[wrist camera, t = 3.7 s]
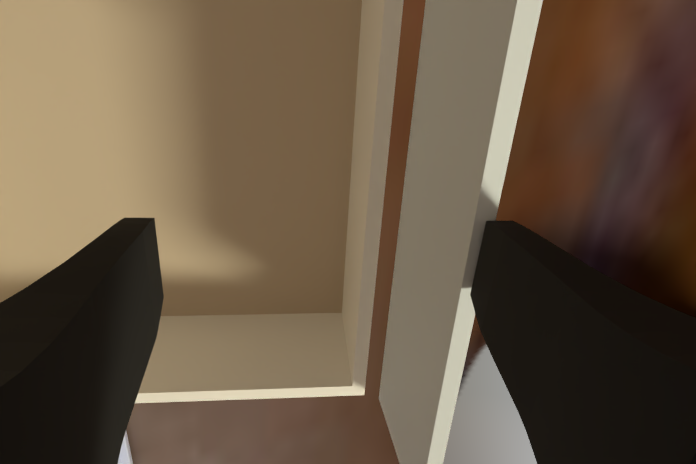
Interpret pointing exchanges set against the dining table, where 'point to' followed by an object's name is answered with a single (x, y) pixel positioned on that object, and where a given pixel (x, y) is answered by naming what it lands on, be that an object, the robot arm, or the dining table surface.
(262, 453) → the dining table surface
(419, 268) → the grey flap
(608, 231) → the dining table surface
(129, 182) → the carton
